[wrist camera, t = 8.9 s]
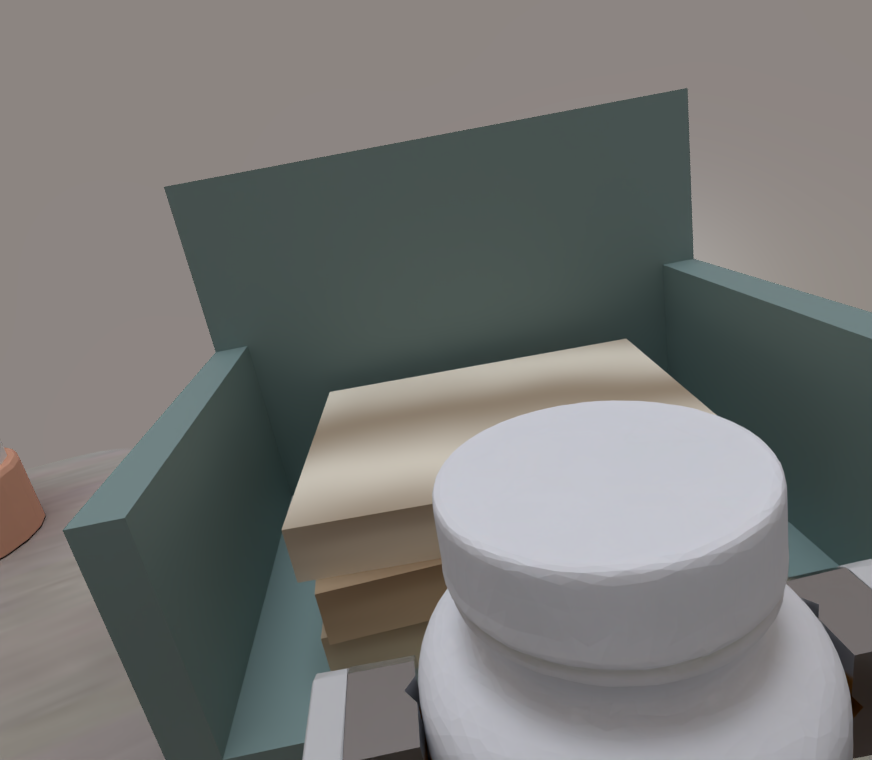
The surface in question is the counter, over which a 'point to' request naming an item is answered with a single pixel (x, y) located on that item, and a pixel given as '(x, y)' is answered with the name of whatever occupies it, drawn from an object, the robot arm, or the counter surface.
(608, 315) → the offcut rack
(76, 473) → the counter surface
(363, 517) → the birch offcut top
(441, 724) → the supplement bottle
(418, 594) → the board
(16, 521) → the pepper shaker
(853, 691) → the robot arm
